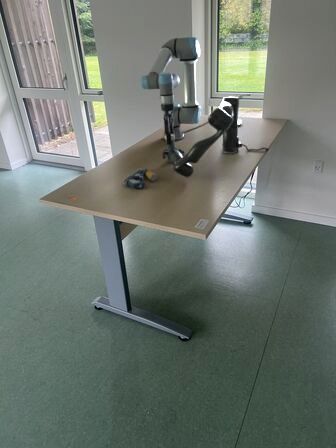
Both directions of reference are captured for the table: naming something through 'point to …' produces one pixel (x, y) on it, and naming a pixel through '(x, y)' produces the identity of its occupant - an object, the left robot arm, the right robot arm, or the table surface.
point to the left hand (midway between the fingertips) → (170, 142)
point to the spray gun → (139, 178)
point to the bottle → (170, 147)
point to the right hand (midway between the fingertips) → (170, 149)
